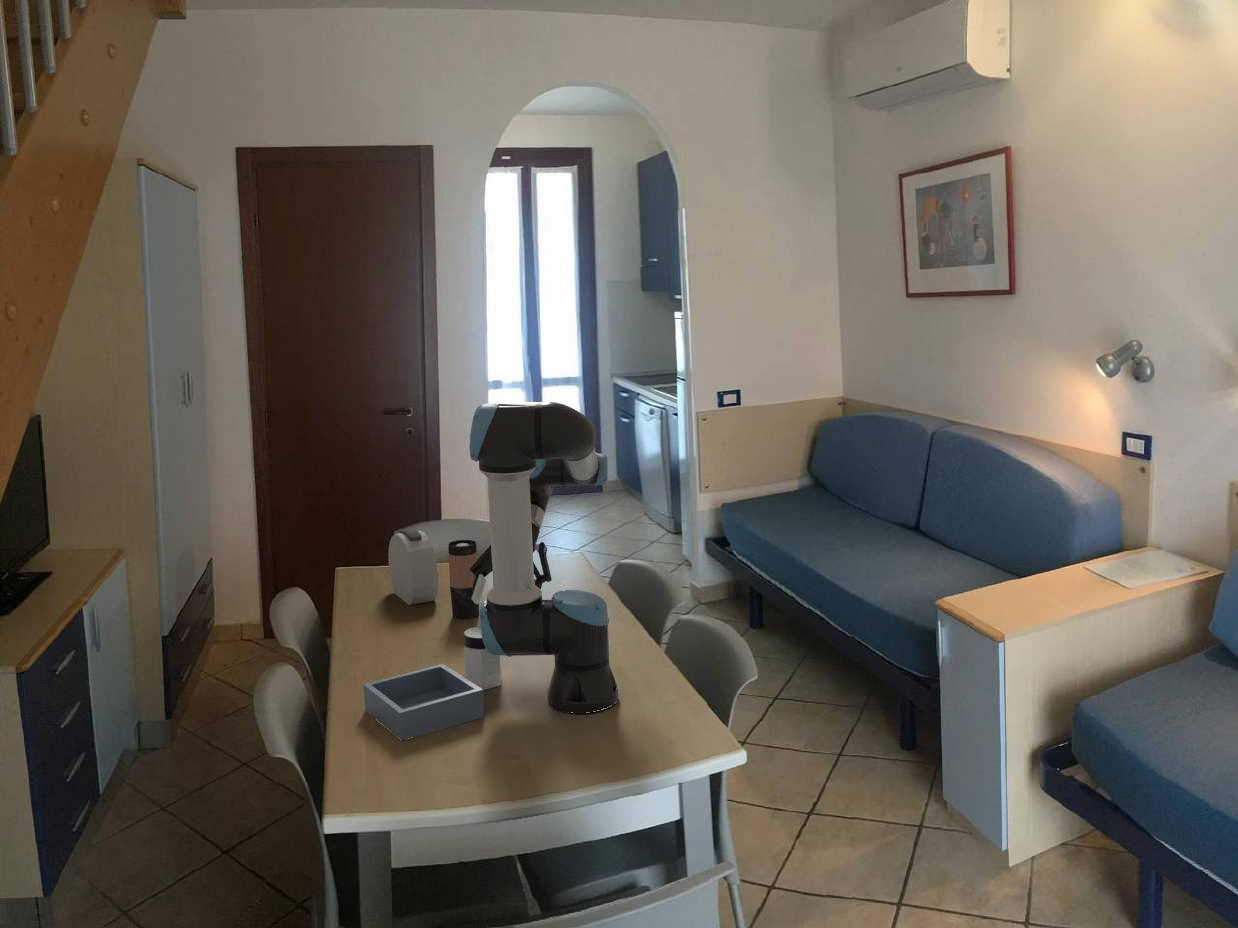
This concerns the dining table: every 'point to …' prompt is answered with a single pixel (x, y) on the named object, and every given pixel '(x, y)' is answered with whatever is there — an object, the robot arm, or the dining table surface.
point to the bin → (423, 701)
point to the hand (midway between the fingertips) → (501, 603)
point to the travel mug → (462, 578)
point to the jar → (480, 661)
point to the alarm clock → (413, 567)
